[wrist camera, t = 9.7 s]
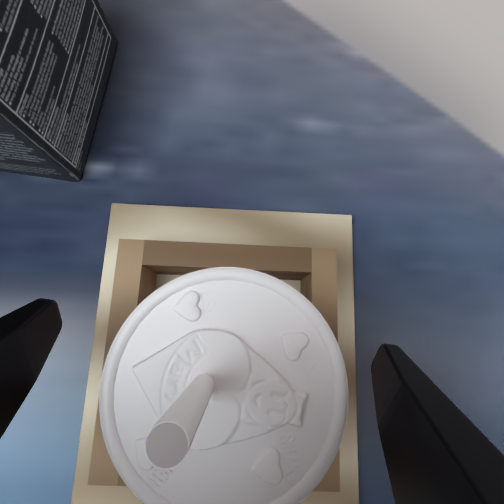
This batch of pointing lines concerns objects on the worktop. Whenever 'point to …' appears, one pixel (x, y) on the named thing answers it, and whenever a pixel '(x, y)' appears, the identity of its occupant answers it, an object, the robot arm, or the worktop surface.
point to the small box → (51, 84)
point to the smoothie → (223, 392)
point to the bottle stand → (211, 256)
